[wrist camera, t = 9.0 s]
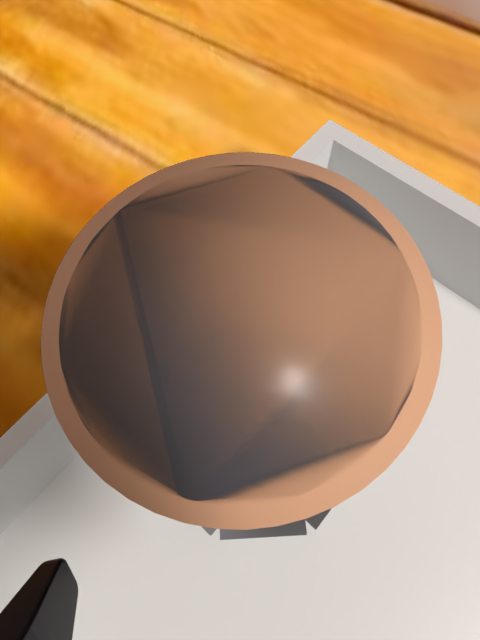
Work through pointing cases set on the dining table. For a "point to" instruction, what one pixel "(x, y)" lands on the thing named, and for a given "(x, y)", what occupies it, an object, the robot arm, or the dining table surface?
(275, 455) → the capped peg
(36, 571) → the robot arm
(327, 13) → the dining table surface
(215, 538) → the walled box
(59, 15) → the dining table surface
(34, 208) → the dining table surface
